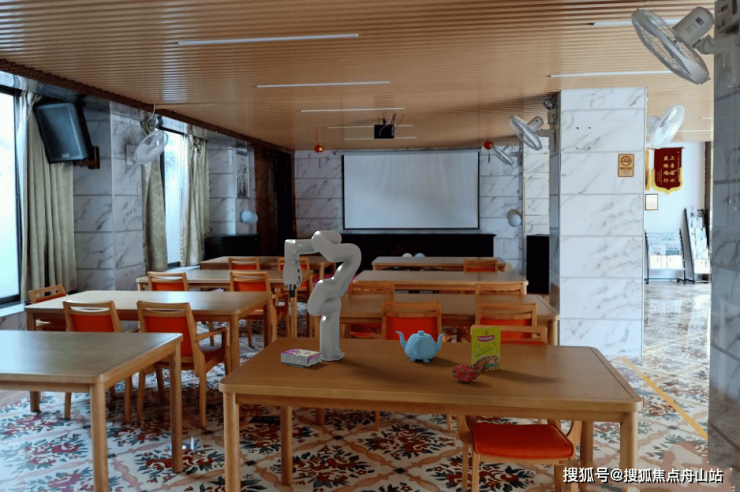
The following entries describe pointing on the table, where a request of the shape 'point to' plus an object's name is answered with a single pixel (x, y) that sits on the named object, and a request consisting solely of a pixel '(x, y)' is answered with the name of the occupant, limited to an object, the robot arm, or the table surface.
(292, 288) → the robot arm
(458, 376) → the dragon fruit
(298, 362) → the candy bar box
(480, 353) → the food package
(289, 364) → the mat
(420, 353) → the teapot
